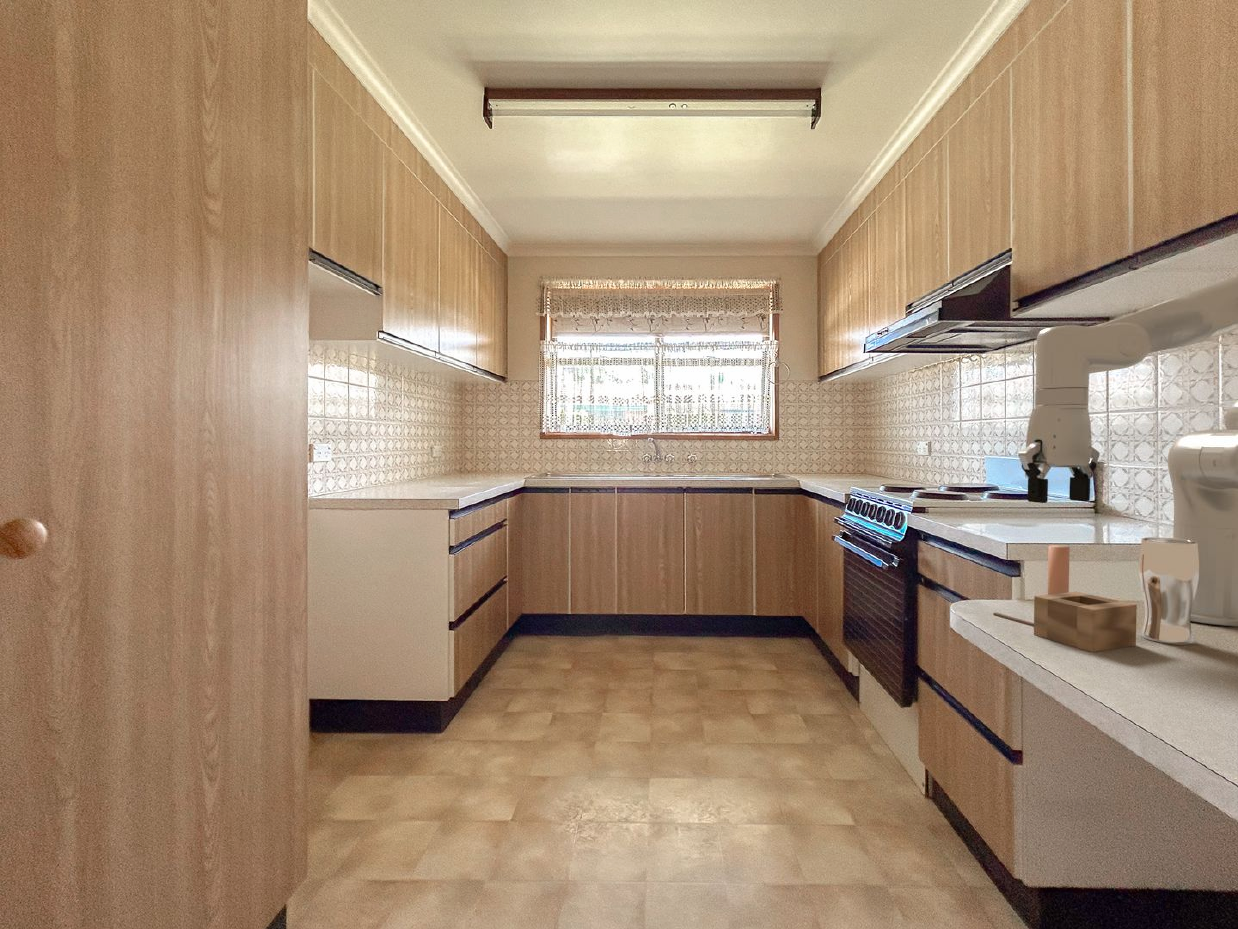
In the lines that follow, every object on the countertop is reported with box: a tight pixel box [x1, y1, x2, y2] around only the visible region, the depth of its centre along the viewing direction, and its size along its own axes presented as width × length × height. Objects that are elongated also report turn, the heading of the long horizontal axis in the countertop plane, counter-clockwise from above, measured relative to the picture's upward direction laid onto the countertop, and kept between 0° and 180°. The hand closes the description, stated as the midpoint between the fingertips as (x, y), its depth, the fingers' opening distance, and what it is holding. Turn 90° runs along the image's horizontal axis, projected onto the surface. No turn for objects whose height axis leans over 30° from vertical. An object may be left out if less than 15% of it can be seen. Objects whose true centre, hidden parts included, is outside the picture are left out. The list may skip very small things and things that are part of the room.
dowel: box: [1047, 544, 1071, 595], centre depth 113 cm, size 3×3×12 cm
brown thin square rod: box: [992, 612, 1034, 627], centre depth 109 cm, size 1×10×1 cm, turn 19°
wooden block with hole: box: [1033, 591, 1138, 653], centre depth 99 cm, size 9×9×6 cm
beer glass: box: [1138, 536, 1199, 646], centre depth 99 cm, size 7×7×15 cm
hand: (1058, 501), depth 112 cm, fingers open, 9 cm apart
